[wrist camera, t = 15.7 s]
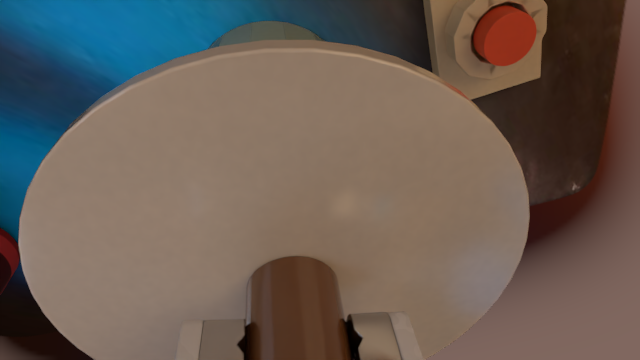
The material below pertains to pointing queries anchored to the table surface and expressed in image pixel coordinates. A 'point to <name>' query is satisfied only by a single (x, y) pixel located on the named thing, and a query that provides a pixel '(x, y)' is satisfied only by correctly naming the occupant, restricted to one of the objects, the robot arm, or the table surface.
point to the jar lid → (273, 205)
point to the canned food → (7, 258)
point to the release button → (504, 35)
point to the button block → (459, 52)
